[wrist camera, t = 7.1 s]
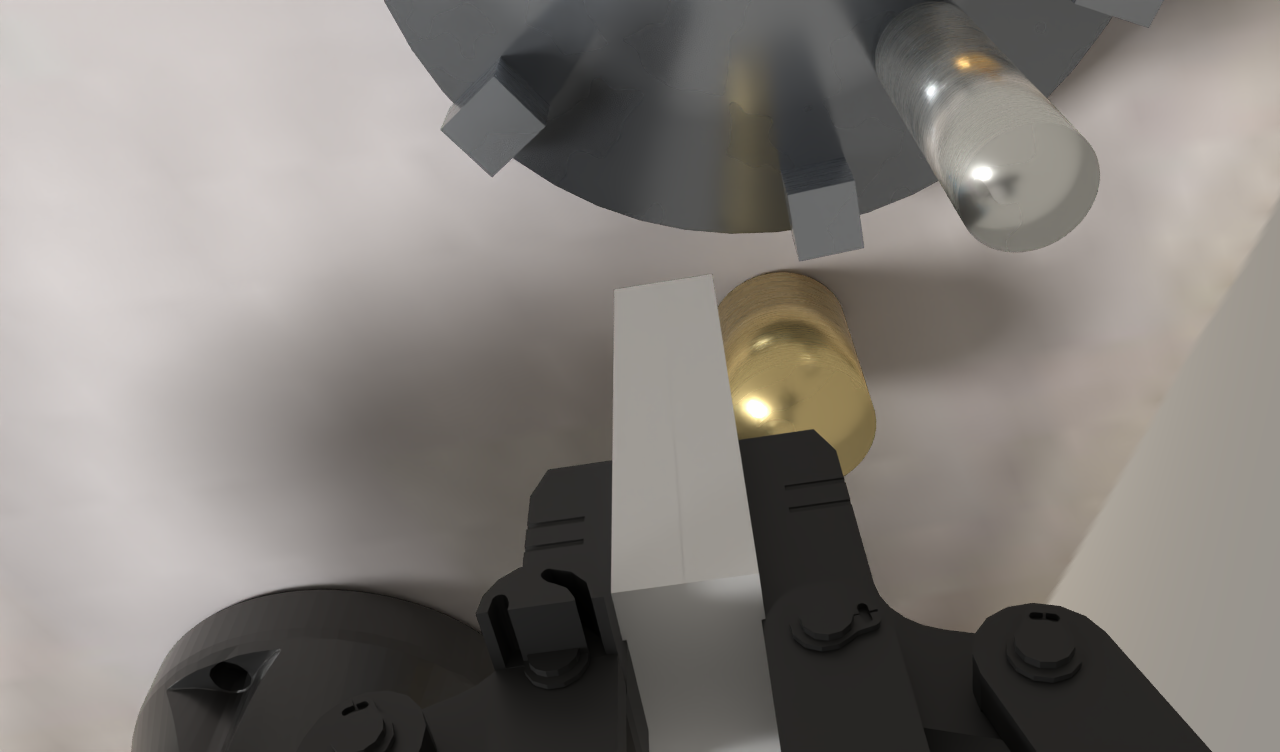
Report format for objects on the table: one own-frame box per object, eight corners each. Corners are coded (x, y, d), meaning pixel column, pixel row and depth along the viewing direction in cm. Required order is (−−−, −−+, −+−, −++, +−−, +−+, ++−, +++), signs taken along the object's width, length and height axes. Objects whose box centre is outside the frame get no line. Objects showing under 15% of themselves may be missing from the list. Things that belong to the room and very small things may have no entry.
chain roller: (810, 403, 34) (834, 507, 30) (690, 366, 33) (697, 467, 29) (868, 296, 32) (903, 392, 28) (742, 254, 31) (758, 345, 27)
